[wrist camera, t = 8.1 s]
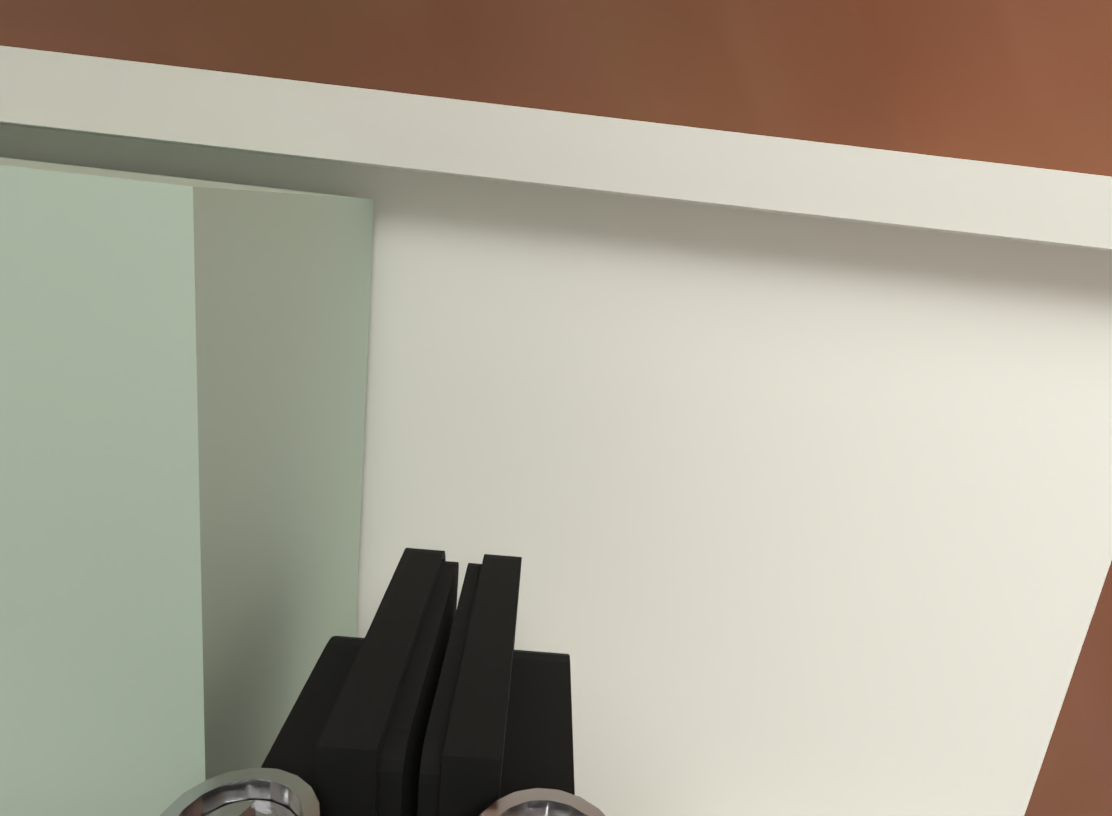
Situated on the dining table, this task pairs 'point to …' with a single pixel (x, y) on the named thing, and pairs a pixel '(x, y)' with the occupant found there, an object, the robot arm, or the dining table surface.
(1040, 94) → the dining table surface
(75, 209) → the slide block
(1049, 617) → the rail base
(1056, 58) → the dining table surface
